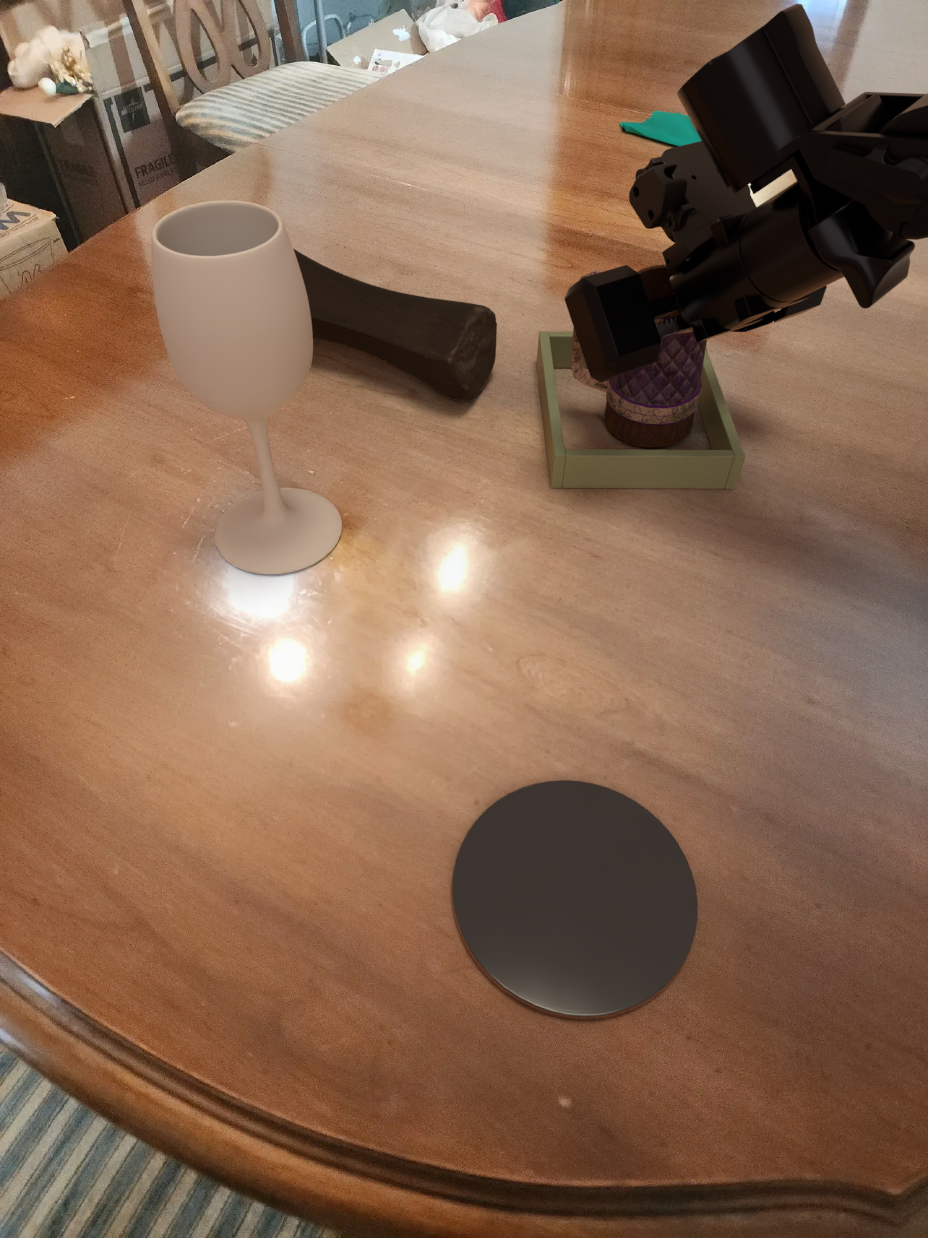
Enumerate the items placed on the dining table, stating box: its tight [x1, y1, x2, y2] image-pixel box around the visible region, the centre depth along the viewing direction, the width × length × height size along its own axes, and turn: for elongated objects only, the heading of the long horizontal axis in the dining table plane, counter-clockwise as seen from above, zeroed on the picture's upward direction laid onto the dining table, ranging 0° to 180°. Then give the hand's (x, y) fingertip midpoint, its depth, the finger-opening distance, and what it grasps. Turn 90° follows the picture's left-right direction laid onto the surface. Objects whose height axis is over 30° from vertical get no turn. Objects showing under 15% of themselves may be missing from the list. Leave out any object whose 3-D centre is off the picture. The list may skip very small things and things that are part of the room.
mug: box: [571, 264, 708, 449], centre depth 63 cm, size 10×7×12 cm
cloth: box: [619, 110, 702, 147], centre depth 107 cm, size 26×14×2 cm, turn 77°
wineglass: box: [150, 199, 343, 576], centre depth 51 cm, size 9×9×21 cm
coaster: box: [451, 779, 699, 1021], centre depth 42 cm, size 12×12×1 cm
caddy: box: [535, 330, 746, 490], centre depth 67 cm, size 14×17×3 cm
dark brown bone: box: [293, 247, 498, 402], centre depth 71 cm, size 11×10×28 cm
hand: (631, 335), depth 64 cm, fingers closed on mug, 7 cm apart
